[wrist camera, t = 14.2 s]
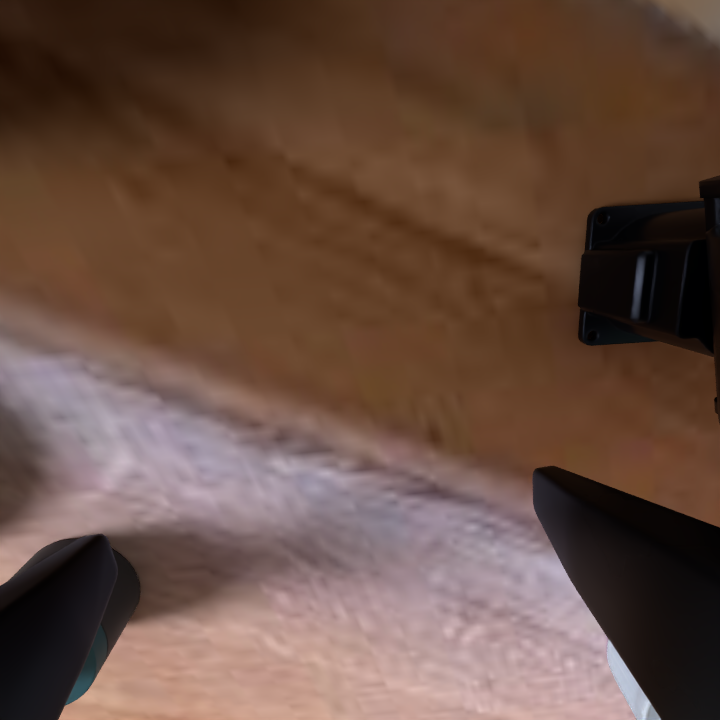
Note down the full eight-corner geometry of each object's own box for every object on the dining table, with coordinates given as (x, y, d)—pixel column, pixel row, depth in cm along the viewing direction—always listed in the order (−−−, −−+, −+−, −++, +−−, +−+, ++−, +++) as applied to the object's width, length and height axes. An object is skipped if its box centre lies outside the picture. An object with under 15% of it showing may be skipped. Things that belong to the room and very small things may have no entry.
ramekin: (673, 555, 25) (740, 617, 21) (761, 627, 27) (839, 698, 22) (567, 649, 26) (608, 724, 22) (656, 711, 28) (710, 791, 24)
